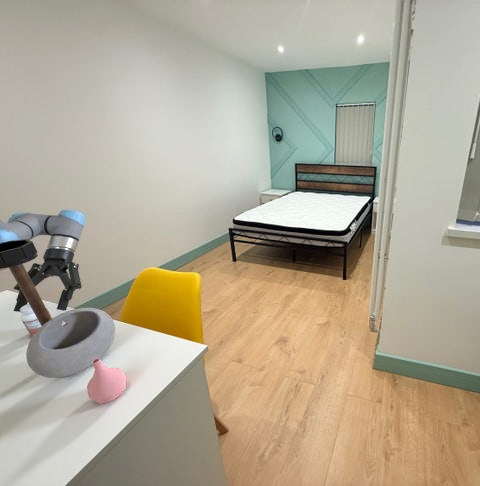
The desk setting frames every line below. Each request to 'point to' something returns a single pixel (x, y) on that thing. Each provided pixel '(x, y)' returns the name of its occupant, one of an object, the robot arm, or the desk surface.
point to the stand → (30, 293)
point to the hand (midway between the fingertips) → (40, 310)
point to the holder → (16, 252)
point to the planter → (70, 342)
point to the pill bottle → (30, 319)
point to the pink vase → (105, 383)
